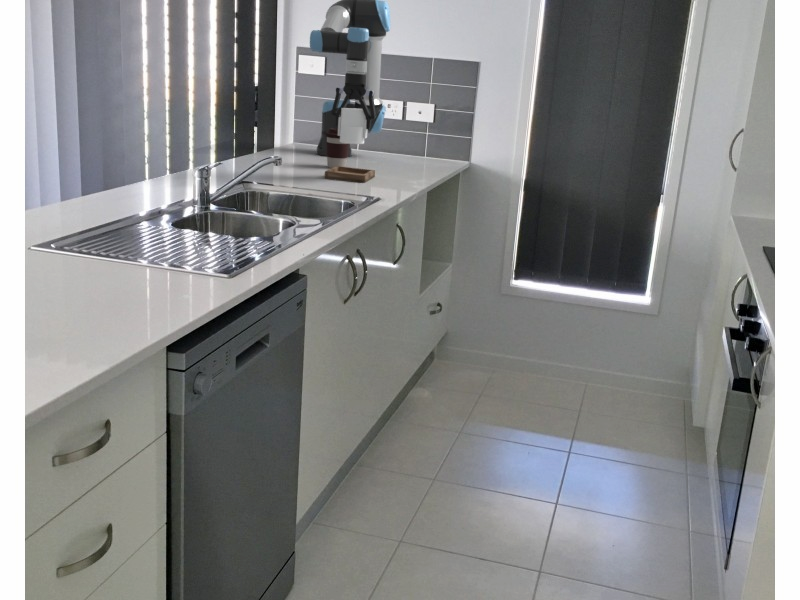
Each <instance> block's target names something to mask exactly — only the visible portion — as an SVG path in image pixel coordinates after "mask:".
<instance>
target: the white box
mask: <svg viewBox="0 0 800 600" xmlns="http://www.w3.org/2000/svg"><path fill="white" fill-rule="evenodd" d="M364 120H366V116H365V114H364V111H363V109H356V108H341V127H340V142H342V143H349V144H350V145H351V144H352V145H354V144H355V145H364V144H365V139H366V138H363V134H364Z"/></svg>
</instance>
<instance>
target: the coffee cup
mask: <svg viewBox="0 0 800 600" xmlns="http://www.w3.org/2000/svg"><path fill="white" fill-rule="evenodd" d="M325 136H326V137H327V142H326V146H327V156H326V158H327V159H326V160H327V161H326V162H327V163H326V164H327V167H328V168H329V169H331V168H334V167H336V166H341V167H347V161H348V158H349V157H348V150H349V143H342V142H340V136H338V128H330V129H329V132H326V134H325Z"/></svg>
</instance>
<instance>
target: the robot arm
mask: <svg viewBox="0 0 800 600" xmlns="http://www.w3.org/2000/svg"><path fill="white" fill-rule="evenodd" d="M390 12H391V11H390V7H389V3H388V2H387V1H384V0H338V1H337V2H335V3H333V4H332V5H330V6H329V8H328V9H327V11H326V13H325V21H324V22H323V24H322V26H321V28H320V30H319V29H317V30H311V31H310V35H309V48H310V50H311V51H312V52H318V53H323V54H324V53H326V54H328V53H329V54H342V55H346V59H345V72H346V73H345V77H344V85H343V87H335V97H334V99H332V100H326V101H324V102H323V104H322V111H321V113H322V114H321V116H322V117H321V136H320V137H319V141H318V143H317V146H316V154H317V155H319V156H324V157H327V146H326V142H327V137H326V136H325V134H326V132H329V129H330V128H338V136H340V127H341V108H356V109H363V111H364V114H365V116H366V120H364V134H363V138H365V139H367V138H368V133H369V134H379V133H380V132H381V131H382V128H383V124H384V120H385V113H386V108H387V107H386V106H385V105H383V100H382V99H381V98H380V89H381V88H380V86H381V71H382V70H381V68H382V48H383V46H382V45H383V39H385V38H386V37H387V33H388V32H390V30H391V14H390ZM344 29H347V32H343V30H344ZM343 93H344V94H345V97H344V99H341V97H342V94H343ZM351 100H354V103H352V102H351ZM352 153H353V152H352V146H351V144H349V150H348V157H347V158H349V157H352Z"/></svg>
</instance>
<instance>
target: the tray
mask: <svg viewBox="0 0 800 600" xmlns="http://www.w3.org/2000/svg"><path fill="white" fill-rule="evenodd" d="M375 177H376V170H374V169H367V168H356V167H349V166H346V167H341V166H336V167H334V168H329V169H327V170H325V171H324V179H326V180H328V179H329V180H335V179H336V181H344V182H345V181H346V182H353V183H362V184H365V183H366V182H368V181H370V180H372V179H373V178H375Z"/></svg>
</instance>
